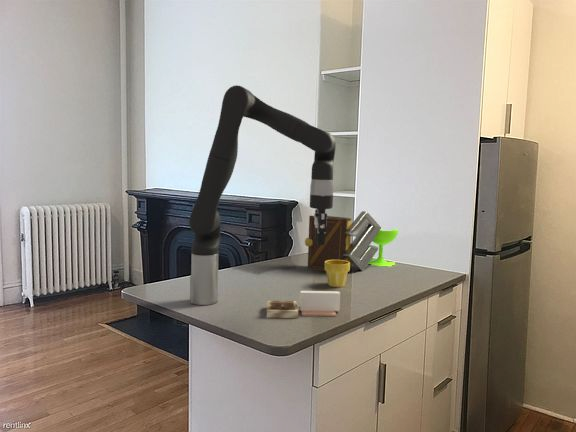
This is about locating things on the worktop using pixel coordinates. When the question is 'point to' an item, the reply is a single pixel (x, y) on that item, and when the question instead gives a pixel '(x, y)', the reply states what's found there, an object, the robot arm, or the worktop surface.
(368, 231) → the emblem
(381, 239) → the wineglass
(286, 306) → the walnut offcut right
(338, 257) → the wooden crate
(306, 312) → the terracotta tile
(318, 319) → the worktop surface
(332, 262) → the plant pot
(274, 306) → the walnut offcut left
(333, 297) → the light grey flat block
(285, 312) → the birch rack
